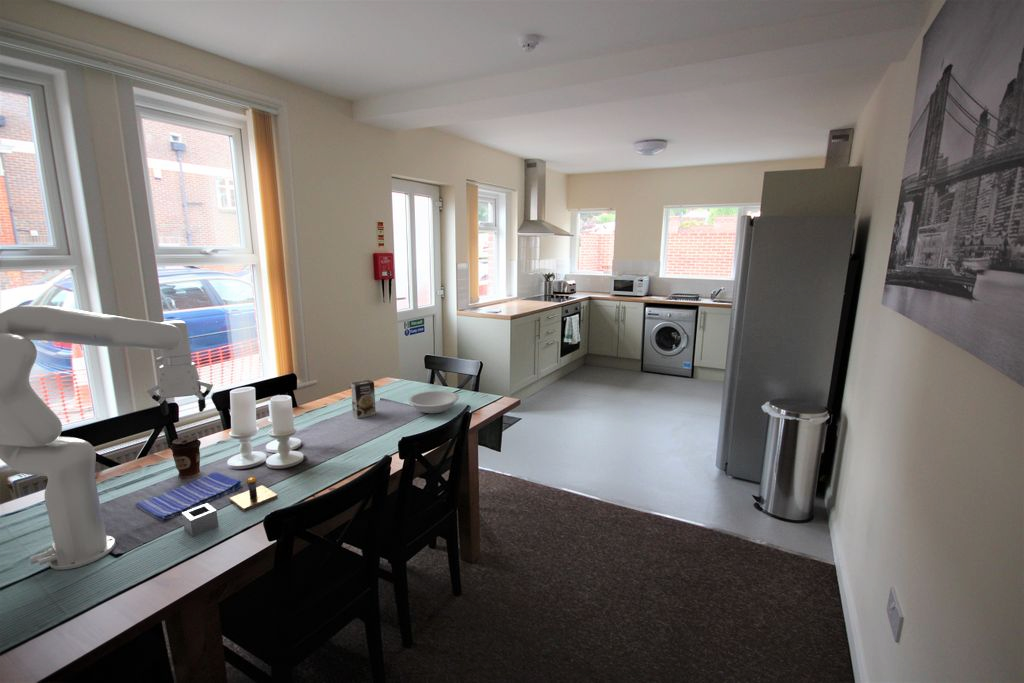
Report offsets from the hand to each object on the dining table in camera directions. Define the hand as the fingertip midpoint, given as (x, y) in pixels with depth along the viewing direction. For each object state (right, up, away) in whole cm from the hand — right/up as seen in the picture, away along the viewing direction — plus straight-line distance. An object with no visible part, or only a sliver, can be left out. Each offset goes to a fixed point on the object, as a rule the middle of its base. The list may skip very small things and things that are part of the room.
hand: (184, 412), depth 149 cm
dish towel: (+3, -27, 0) cm, 27 cm away
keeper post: (+24, -27, -3) cm, 36 cm away
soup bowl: (+67, -11, +77) cm, 103 cm away
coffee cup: (-8, -24, +14) cm, 29 cm away
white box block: (+17, -30, -17) cm, 39 cm away
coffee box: (+35, -12, +72) cm, 81 cm away
